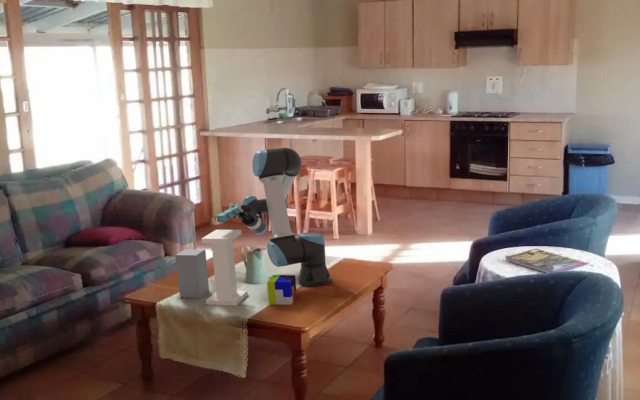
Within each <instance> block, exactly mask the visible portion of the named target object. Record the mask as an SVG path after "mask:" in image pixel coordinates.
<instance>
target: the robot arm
mask: <svg viewBox="0 0 640 400" xmlns="http://www.w3.org/2000/svg"><path fill="white" fill-rule="evenodd" d="M251 165H252V167H251V168H252V173H253V175H254V176H255V177H257V178H258V181H259V182H260V183H262V185H263V189H264V190H263V191H264V196H265V198H261V199H258V198H257V196H255V195H248V196H246V197H244V198H243V200H242V203H241V202H239V201H237V202H236V204H237V208H238V209H239V210H240V211H241V212H240V213H238V214H237V215H235V216H233V217H232V218H233V219H236V218H238V219H239V220H241V222H242V224H243V225H245V226H246V228H247V227H248V229H249V230H250V231H252V232H253V233H254V234H255V235H257V236H261V235H264V234H266V232H267V230H268V225H267V223H266V221H265V220H264V218H263V215H265V214H268V217H269V222H270V228H271V234H272V235H271V236H270V238H269V241H270V242H268V243H267V245H266V250H267V255H268V257H269V260H270V262H271V264H272V265H274V266H275V267H287V266H292V265H297V264H300V269H299V274H298V276H297V282H298V284H299V285H300V286H305V287H319V286H320V287H321V286H324V285H326V284H329V283H330V282H331V275H330V272H329V269H328V267H327V264H326V247H325V246H326V243H325V237H324V235H322V234H321V233H317V232H300V233H299V234H298V237H296V234H295V233H294V232H292V230H291V225H290V220H289V219H290V218H289V214H288V200H287V196H288V195H289V191H291V188H292V185H293V183H294V181H295V178H296V177H297V176H298V175H299V174H300V172H301V171H302V168H303V166H302V165H303V162H302V158H301V156H300V154H299V153H298V152H297V151H296V150H295V149H293V148H290V147H281V148H269V149H263V150H262V149H261V150H257V151H255V153H254V155H253V158H252V163H251ZM236 204H235V203H233V202H232V201H230V202H229V205H228V207H229V208H231V207H233V206H235V205H236ZM242 204H244V206H243V205H242ZM229 208H228V209H229Z"/></svg>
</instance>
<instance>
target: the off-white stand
mask: <svg viewBox="0 0 640 400" xmlns="http://www.w3.org/2000/svg"><path fill="white" fill-rule="evenodd" d="M241 235H242V229H214V230H213V231H212V232H210V233H208V234H206V235H205V236H203V237H202V238H201V244H211V251H212V261H213V262H212V263H213V271H214V272H213V274H214V282H215V285H214V286H215V292H214V293H212V294H211V295H210V296H209V297H208V298H207V299H206V300H205V302H206V305H213V306H237V305H239V304H240V303H241V302H242V301H243V300H244V299H245V298H246V297H247V296H248V295H249V294H248V290H241V289H239V290H238V287H237V273H236V264H235V263H236V262H235V251H234V250H235V249H234V240H235V239H237V238H238V237H239V236H241Z"/></svg>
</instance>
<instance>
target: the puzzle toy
mask: <svg viewBox="0 0 640 400" xmlns="http://www.w3.org/2000/svg"><path fill="white" fill-rule="evenodd" d="M296 283H297V282H296V275H295V274H292V275H291V274H273V275H272V276H271V277H270V278H269V279H268V280H267V282H266V287H267V296H268V297H267V298H268V304H269V305H292V304H293V303H294V301H295V300H296V298H297V284H296Z"/></svg>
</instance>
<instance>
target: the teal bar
mask: <svg viewBox="0 0 640 400" xmlns="http://www.w3.org/2000/svg"><path fill="white" fill-rule="evenodd" d="M241 204H242V205H243V206H244V204H243V203H241ZM234 205H235V206H233V207H231V208H227V209H226V210H224V211H222V212H221V213H219V214H217V215H216V222H217V223H225V222H226V221H229V220H230V219H232V218H233V216H235V215H237V214H238V213H240V212H241V211H240V210H239V209H238V208H237V203H236V204H234Z"/></svg>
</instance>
